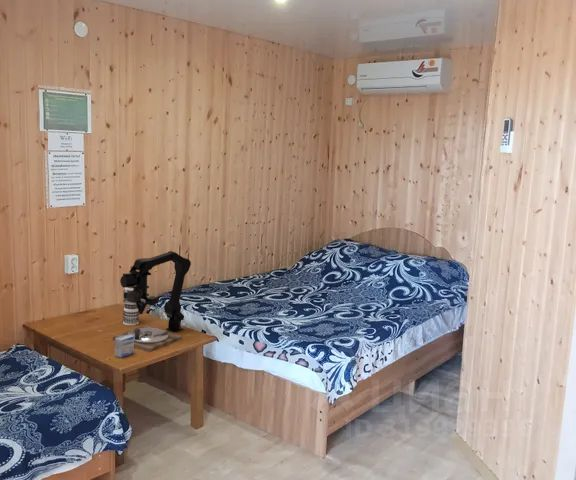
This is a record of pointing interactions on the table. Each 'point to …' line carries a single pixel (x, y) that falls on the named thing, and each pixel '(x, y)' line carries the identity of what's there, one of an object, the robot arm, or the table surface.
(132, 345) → the medicine box
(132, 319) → the decorative candle
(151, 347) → the walnut stand
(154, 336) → the dial
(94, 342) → the table surface
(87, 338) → the table surface
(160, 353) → the table surface
